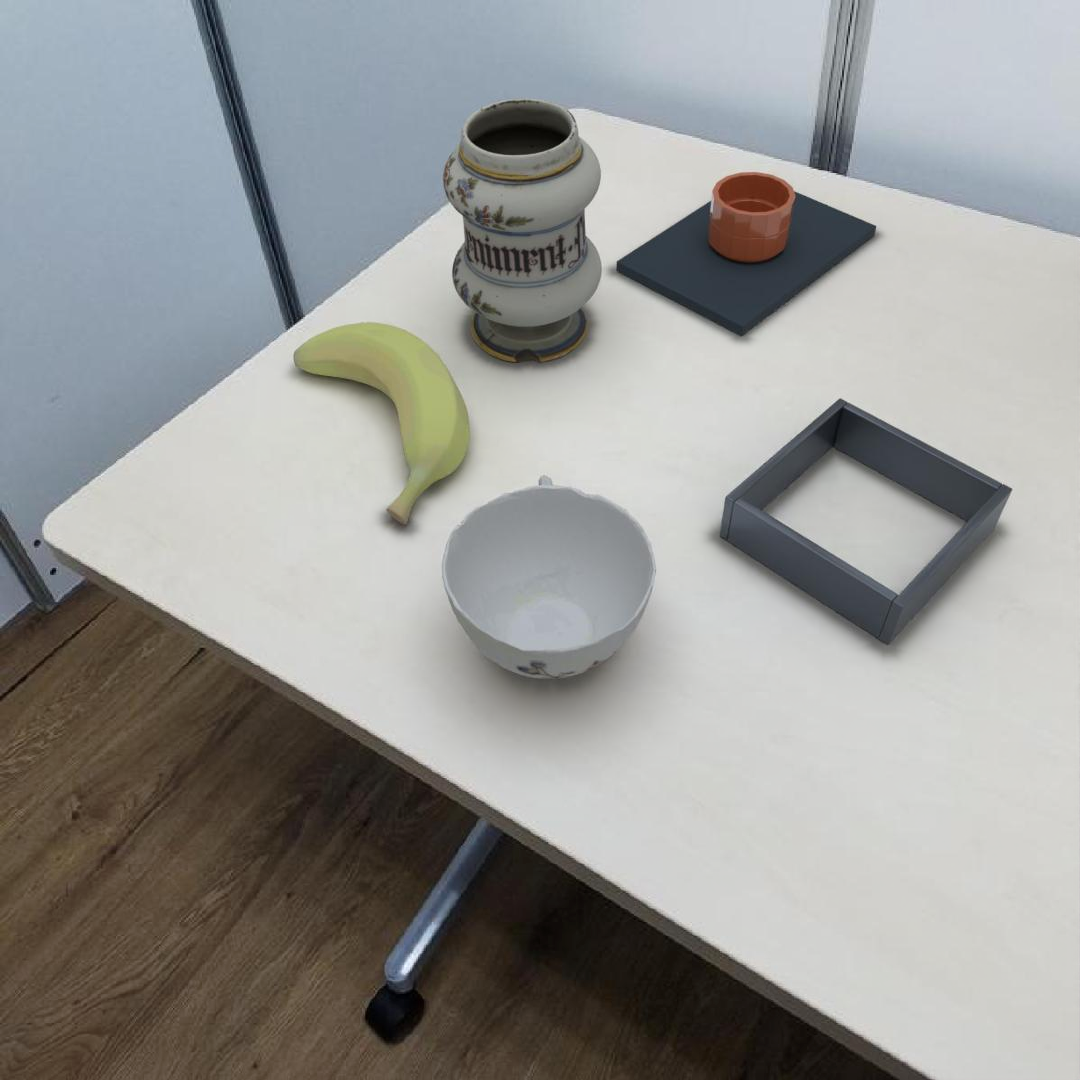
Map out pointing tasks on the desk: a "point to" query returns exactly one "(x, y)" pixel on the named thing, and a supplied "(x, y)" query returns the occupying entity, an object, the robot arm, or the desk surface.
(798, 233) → the mat
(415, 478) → the banana
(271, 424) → the desk surface
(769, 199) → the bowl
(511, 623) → the teacup
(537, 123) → the apothecary jar
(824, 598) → the square frame
